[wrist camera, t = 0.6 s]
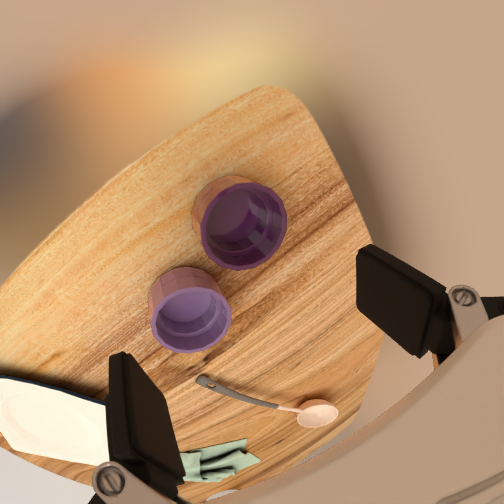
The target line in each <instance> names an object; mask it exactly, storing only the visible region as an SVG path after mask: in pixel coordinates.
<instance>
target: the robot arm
mask: <svg viewBox="0 0 504 504" xmlns="http://www.w3.org/2000/svg"><path fill="white" fill-rule="evenodd" d="M445 291H446V287H445V286H443V285H441V284H440V283H438V282H437V281H435V280H434V279H432V278H430V277H429V276H427V275H425V274H424V273H422V272H420V271H418V270H417V269H415V268H413V267H411V266H410V265H408V264H407V263H405V262H403V261H401V260H400V259H398V258H396V257H394V256H393V255H391V254H389V253H387V252H386V251H384V250H382V249H380V248H378V247H377V246H375V245H373V244H369V245H367V246H365V247H363V248H361V249H359V251H358V254H357V255H356V305H357V308H358V310H359V311H360V312H361V313H362V314H364V315H365V316H366V317H367V318H368V319H370V320H371V321H372V322H373V323H374V324H375V325H377V326H378V327H379V328H380V329H381V330H383V331H384V332H385V333H386V334H387V335H388V336H390V337H391V338H392V339H393V340H394V341H396V342H397V343H398V344H399V345H400V346H401V347H402V348H403V349H405V350H406V351H407V352H408V353H409V354H411V355H415V356H417V357H418V358H419V359H420V358H421V357H422V356H423V355H425V353H427V352H428V350H430V351H431V352H432V357H433V364H434V371H433V372H432V373H431V374H430V375H429V376H428V377H427V378H426V379H425V380H423V382H421V383H420V384H419V385H418V386H417V387H415V388H414V389H413V390H412V391H411V392H410V393H408V394H407V395H406V396H405V397H403V398H402V399H401V400H400V401H399V402H397V403H396V404H395V405H394V406H392V407H391V408H390V409H388V410H387V411H386V412H384V413H383V414H382V415H380V416H379V417H377V418H376V419H375V420H373V421H372V422H371V423H369V424H368V425H366V426H365V427H363V428H362V429H360V430H359V431H357V432H356V433H354V434H353V435H351V436H349V437H348V438H346V439H345V440H343V441H342V442H340V443H338V444H336V445H335V446H333V447H331V448H330V449H328V450H326V451H324V452H323V453H321V454H319V455H317V456H315V457H314V458H311V459H310V460H308V461H306V462H304V463H302V464H300V465H298V466H296V467H294V468H292V469H289V470H287V471H285V472H283V473H281V474H279V475H276V476H274V477H272V478H269V479H267V480H265V481H262V482H260V483H257V484H255V485H252V486H249V487H247V488H244V489H241V490H239V491H236V492H233V493H230V494H227V495H224V496H221V497H218V498H215V499H212V500H209V501H205V502H202V503H198V504H504V297H480V296H479V294H478V293H477V291H475V290H474V289H473V288H471V287H469V286H466V285H456V286H454V287H452V288H451V289H450V290H449V293H448V294H447V293H446V292H445ZM105 412H106V430H107V442H108V452H109V461H107V462H104V463H101V464H100V465H99V466H97V467H96V469H95V470H94V472H93V475H92V485H93V488H94V490H95V492H96V493H95V495H94V496H93V498H92V499H91V500H90V502H89V503H88V504H193V503H191V502H189V501H188V500H186V499H184V498H183V497H181V496H179V495H178V490H177V487H176V486H178V485H182V484H185V483H184V480H183V477H185V476H186V472H185V469H184V465H183V462H182V459H181V456H180V452H179V449H178V445H177V442H176V438H175V434H174V431H173V427H172V423H171V419H170V415H169V411H168V406H167V402H166V399H165V397H164V395H163V394H162V392H161V391H160V390H159V389H158V388H157V386H156V385H155V384H154V383H153V382H152V380H151V379H150V378H149V377H148V375H147V374H146V373H145V372H144V370H143V369H142V368H141V366H140V365H139V364H138V363H137V361H136V360H135V359H134V357H133V356H132V355H131V354H130V353H129V354H126V353H125V352H124V351H122V352H120V353H117V354H114V355H111V356H110V357H109V394H108V395H107V396H106V398H105Z"/></svg>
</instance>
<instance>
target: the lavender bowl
mask: <svg viewBox="0 0 504 504" xmlns="http://www.w3.org/2000/svg"><path fill="white" fill-rule="evenodd" d="M148 307H149V315H150V323H151V328H152V332H153V336H154V337H155V338H156V339H157V340H158V342H159V343H160V344H161V345H162V346H163V347H165V348H167V349H170V350H172V351H174V352H179V353H194V352H199V351H204V350H206V349H208V348H210V347H211V346H213V345H215V344H217V343H218V342H219V341H220V340H221V339H222V338H223V337H224V336H225V335H226V333H227V331H228V329H229V326H230V324H231V321H232V318H231V307H230V306H229V304H228V302H227V300H226V299H225V297H224V295H223V293H222V292H221V290H220V288H219V286H218V284H217V283H216V281H215V279H214V278H213V277H212V276H211V275H209V274H208V273H207V272H205V271H204V270H202V269H197V268H192V267H181V268H175V269H172V270H170V271H169V272H167V273H165V274H163V275H161V276H160V277H159V278H158V279H157V280H156V282H155V283H154V284H153V286H152V287H151V289H150V293H149V297H148Z"/></svg>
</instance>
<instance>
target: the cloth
mask: <svg viewBox="0 0 504 504" xmlns="http://www.w3.org/2000/svg"><path fill="white" fill-rule="evenodd" d="M246 442H247V438H245V439H241V440H237V441H233V442H228V443H224V444H219V445H214V446H210V447H205V448H200V449H195V450H192V451H190V452H189V453H180V456H181V459H182V462H183V465H184V469H185V472H186V476H185V477H183V480H186V481H195V482H201V481H202V482H220V481H221V480H222V479H223V478H227V477H229V475H234V476H235V474H236V472H237V471H239V470H241V469H243V468H246V467H248V466H251V465H253V464H255V463H257V462H260V461H261V460H260V459H258V458H257V457H255V456H254V455H252V454H251V453H249V452H246V453H244V454H243V451H244V448H245V445H246Z"/></svg>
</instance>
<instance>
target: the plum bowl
mask: <svg viewBox="0 0 504 504" xmlns="http://www.w3.org/2000/svg"><path fill="white" fill-rule="evenodd" d="M191 215H192V228H193V230H194V232H195V234H196V236H197V238H198V240H199V242H200V243H201V245H202V247H203V249H204V250H205V252H206V254H207V255H208V257H209V258H210V259H211V260H213V261H214V262H215V263H217V264H218V265H219V266H221V267H222V268H227V269H231V270H236V271H240V270H246V269H252V268H255V267H257V266H258V265H260V264H262V263H264V262H266V261H267V260H269V259H270V258H271V256H272V255H273V254H274V253H275V252H276V251H277V250H278V249H279V247H280V245H281V243H282V241H283V238H284V236H285V234H286V228H287V213H286V211H285V208H284V205H283V202H282V200H281V199H280V197H279V196H278V195H277V194H276V193H275V192H274V191H273V190H272V189H271V188H269V187H267V186H264V185H262V184H259V183H257V182H254V181H252V180H249V179H247V178H244V177H241V176H224V177H221V178H219V179H217V180H215V181H213V182H211V183H209V184H208V185H207V186H206V187H205V188H204V189H203V190H202V191H201V193H200V194H199V195H198V196H197V197H196V200H195V203H194V206H193V209H192V213H191Z"/></svg>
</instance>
